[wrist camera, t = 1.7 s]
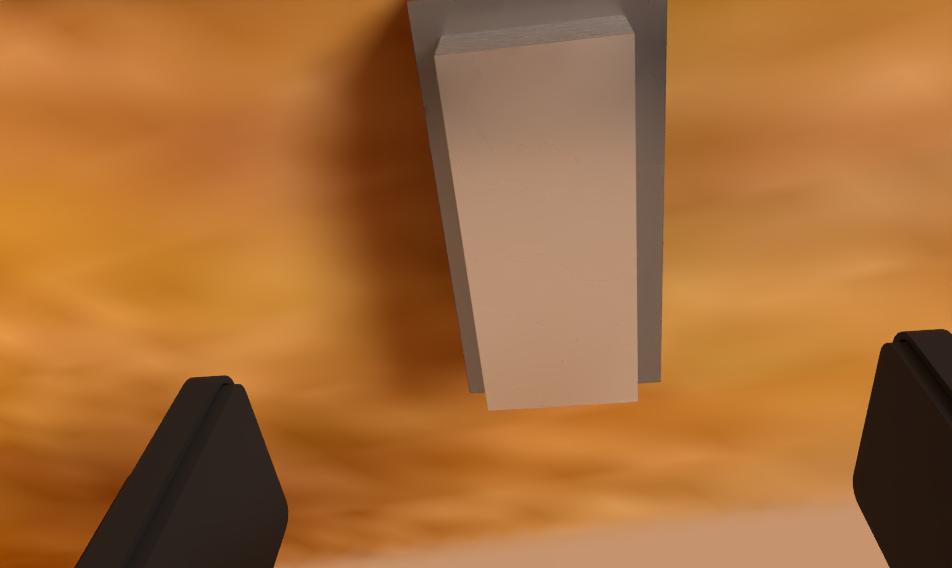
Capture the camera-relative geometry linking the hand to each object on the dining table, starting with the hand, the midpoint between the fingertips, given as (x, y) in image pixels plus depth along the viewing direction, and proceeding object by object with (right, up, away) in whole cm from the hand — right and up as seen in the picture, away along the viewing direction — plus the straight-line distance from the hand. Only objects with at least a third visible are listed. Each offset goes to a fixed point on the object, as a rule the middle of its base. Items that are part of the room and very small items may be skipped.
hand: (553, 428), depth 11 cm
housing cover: (0, +4, +6) cm, 7 cm away
